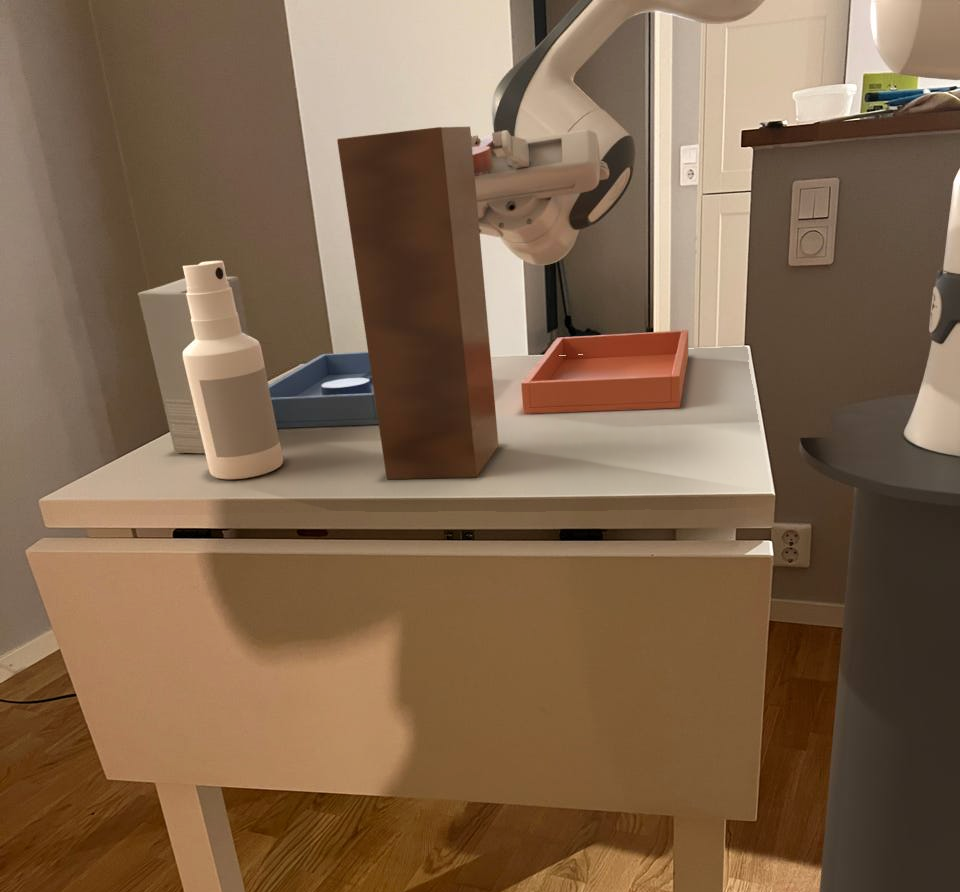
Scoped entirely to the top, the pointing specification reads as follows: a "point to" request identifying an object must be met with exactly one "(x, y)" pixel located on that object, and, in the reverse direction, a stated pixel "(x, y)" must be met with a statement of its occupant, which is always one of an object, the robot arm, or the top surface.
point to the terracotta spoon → (483, 155)
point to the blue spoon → (348, 386)
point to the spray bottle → (228, 381)
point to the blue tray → (306, 405)
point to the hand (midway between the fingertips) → (484, 141)
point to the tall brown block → (422, 298)
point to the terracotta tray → (608, 373)
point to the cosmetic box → (177, 355)
